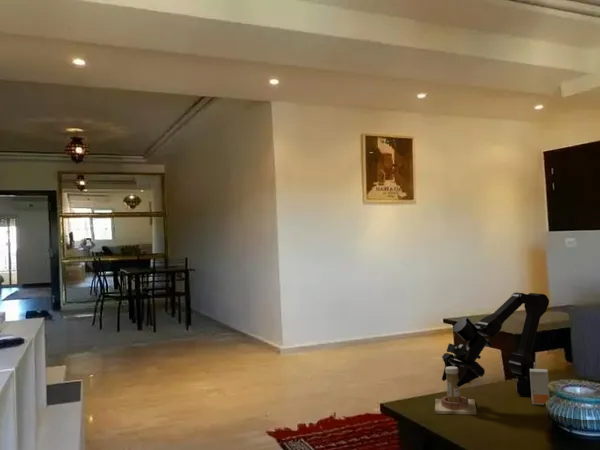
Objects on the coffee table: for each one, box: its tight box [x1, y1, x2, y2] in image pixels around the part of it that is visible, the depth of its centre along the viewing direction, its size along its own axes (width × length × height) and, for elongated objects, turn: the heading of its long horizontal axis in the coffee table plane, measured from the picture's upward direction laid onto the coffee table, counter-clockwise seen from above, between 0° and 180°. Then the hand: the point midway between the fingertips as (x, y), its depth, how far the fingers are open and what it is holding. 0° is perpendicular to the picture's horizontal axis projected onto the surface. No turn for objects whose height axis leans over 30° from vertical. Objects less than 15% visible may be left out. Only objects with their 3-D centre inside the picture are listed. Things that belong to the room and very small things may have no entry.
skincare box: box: [530, 368, 551, 406], centre depth 190 cm, size 6×4×12 cm
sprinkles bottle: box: [444, 366, 461, 402], centre depth 191 cm, size 5×5×14 cm
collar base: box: [434, 395, 478, 415], centre depth 191 cm, size 14×14×3 cm
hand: (450, 383), depth 191 cm, fingers open, 9 cm apart
